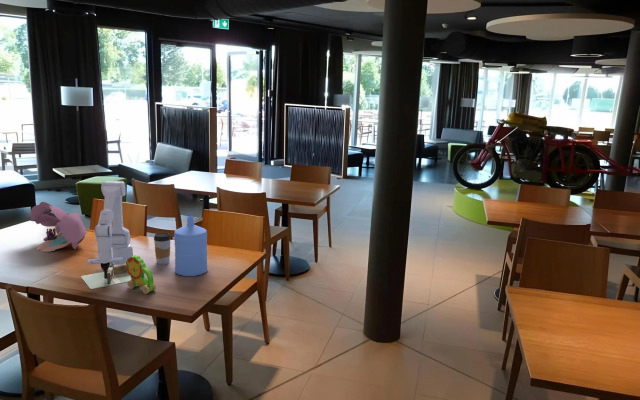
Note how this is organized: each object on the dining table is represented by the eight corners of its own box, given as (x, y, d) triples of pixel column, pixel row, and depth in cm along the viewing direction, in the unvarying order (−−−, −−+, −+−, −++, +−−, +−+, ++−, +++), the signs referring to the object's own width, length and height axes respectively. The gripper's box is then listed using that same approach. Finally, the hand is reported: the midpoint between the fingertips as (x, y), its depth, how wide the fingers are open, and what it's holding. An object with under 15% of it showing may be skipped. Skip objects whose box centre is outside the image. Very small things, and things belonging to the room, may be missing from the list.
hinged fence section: (109, 275, 230) (108, 266, 229) (113, 275, 231) (112, 266, 230) (106, 284, 221) (106, 274, 220) (110, 283, 221) (110, 273, 220)
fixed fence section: (134, 271, 239) (134, 261, 238) (135, 272, 238) (135, 261, 236) (109, 275, 232) (109, 265, 230) (110, 276, 230) (110, 266, 229)
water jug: (213, 272, 242) (213, 217, 236) (185, 279, 231) (183, 222, 225) (197, 263, 253) (196, 211, 246) (169, 270, 242) (167, 215, 236)
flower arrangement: (22, 256, 266) (4, 208, 256) (55, 236, 287) (39, 192, 277) (72, 259, 255) (55, 209, 245) (103, 238, 276) (88, 192, 265)
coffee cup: (174, 261, 254) (174, 234, 251) (163, 266, 246) (162, 238, 243) (162, 258, 257) (161, 231, 254) (151, 263, 250) (150, 235, 247)
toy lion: (157, 291, 217) (156, 259, 213) (147, 295, 212) (145, 262, 209) (133, 282, 225) (132, 251, 221) (123, 286, 220) (122, 254, 217)
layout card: (132, 266, 244) (132, 266, 244) (144, 278, 231) (144, 277, 230) (80, 276, 229) (80, 276, 229) (90, 289, 216) (90, 288, 216)
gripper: (86, 253, 215) (88, 282, 218) (121, 251, 220) (122, 279, 223) (88, 248, 222) (89, 276, 225) (122, 246, 226) (123, 274, 229)
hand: (106, 277), depth 224 cm, fingers closed, pressing on hinged fence section
